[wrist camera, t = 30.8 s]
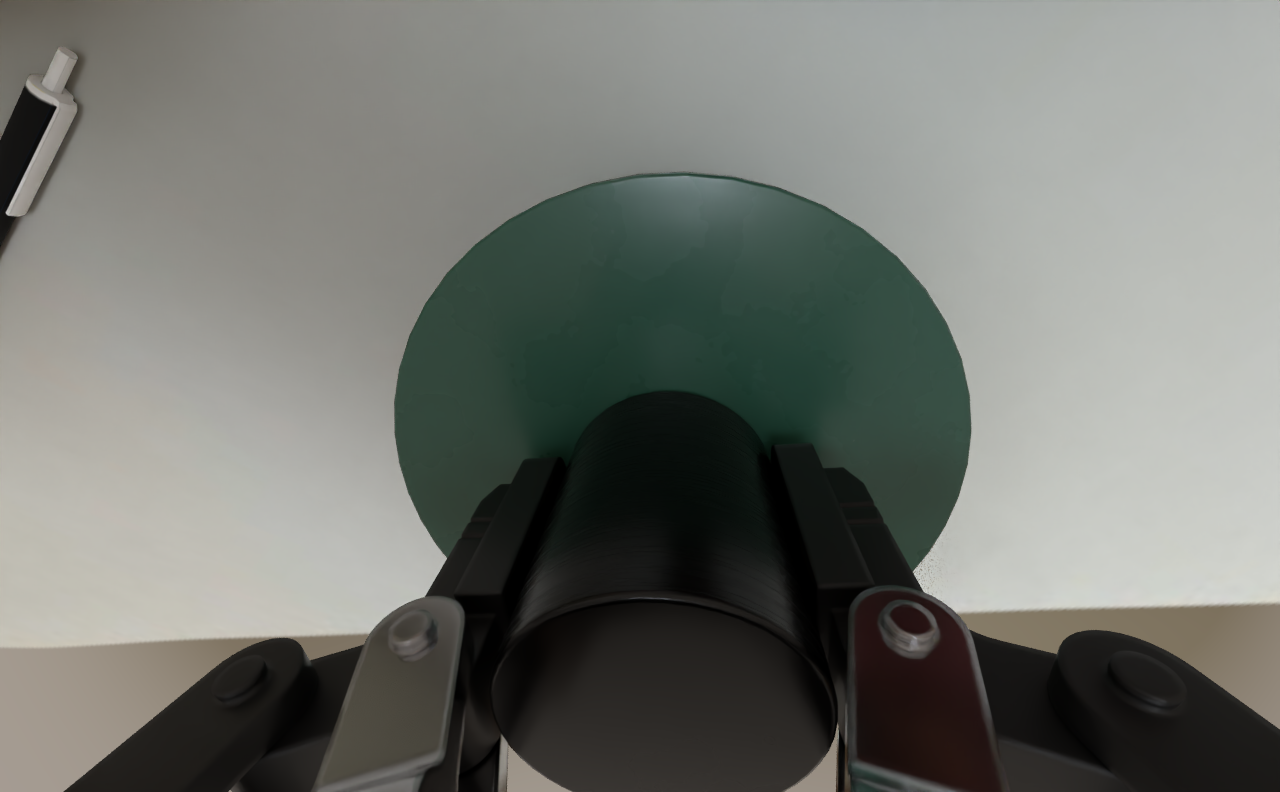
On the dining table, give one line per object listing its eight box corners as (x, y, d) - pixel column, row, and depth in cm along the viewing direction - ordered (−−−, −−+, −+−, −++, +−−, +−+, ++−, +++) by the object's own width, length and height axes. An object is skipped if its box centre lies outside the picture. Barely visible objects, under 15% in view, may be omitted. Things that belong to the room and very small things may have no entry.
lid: (488, 633, 15) (371, 919, 9) (340, 210, 10) (-112, 281, 4) (910, 627, 13) (1072, 961, 8) (994, 128, 8) (1611, 73, 3)
